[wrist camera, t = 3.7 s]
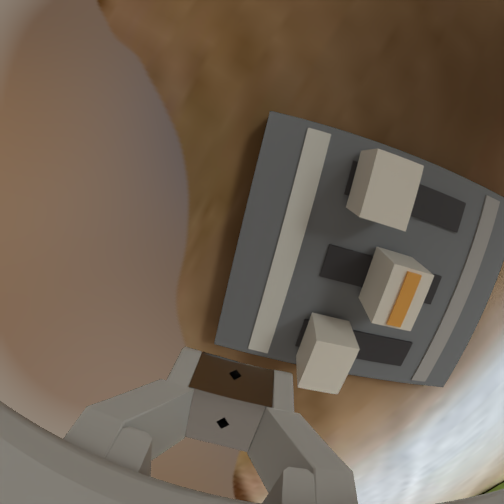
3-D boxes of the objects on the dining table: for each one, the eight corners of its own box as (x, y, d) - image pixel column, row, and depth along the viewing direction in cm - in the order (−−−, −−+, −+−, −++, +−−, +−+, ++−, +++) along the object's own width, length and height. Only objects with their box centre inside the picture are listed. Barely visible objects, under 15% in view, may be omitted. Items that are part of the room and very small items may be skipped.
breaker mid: (412, 257, 21) (435, 276, 17) (393, 305, 22) (411, 332, 18) (376, 246, 21) (395, 264, 17) (358, 297, 23) (372, 324, 18)
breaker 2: (400, 164, 20) (424, 165, 16) (385, 219, 21) (405, 231, 17) (360, 150, 20) (377, 148, 16) (345, 207, 21) (359, 217, 17)
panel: (506, 202, 21) (521, 206, 19) (436, 375, 26) (443, 388, 24) (271, 115, 22) (270, 110, 20) (218, 331, 27) (213, 345, 25)
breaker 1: (349, 320, 23) (359, 349, 19) (331, 363, 24) (337, 394, 20) (312, 312, 23) (316, 340, 19) (295, 355, 24) (297, 387, 20)
